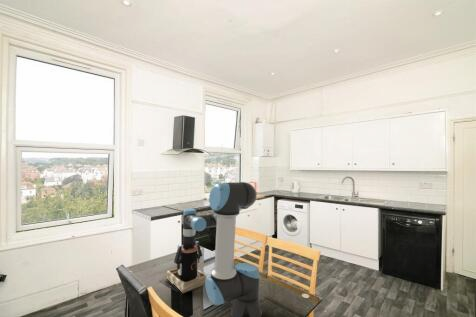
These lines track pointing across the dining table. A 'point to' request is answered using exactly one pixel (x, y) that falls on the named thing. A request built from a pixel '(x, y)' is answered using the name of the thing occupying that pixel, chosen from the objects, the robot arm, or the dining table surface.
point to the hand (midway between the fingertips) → (188, 271)
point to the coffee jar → (189, 264)
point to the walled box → (186, 286)
